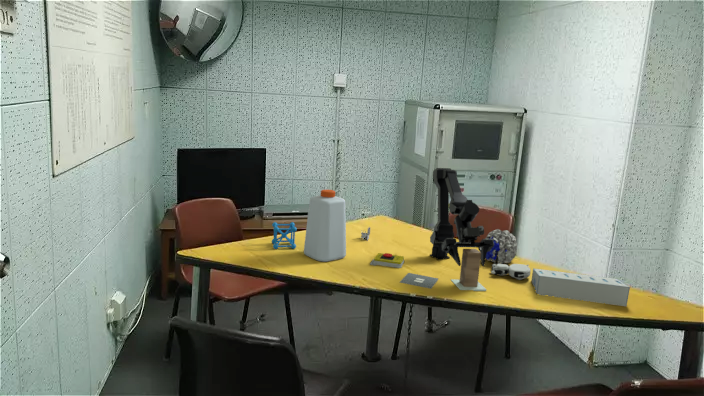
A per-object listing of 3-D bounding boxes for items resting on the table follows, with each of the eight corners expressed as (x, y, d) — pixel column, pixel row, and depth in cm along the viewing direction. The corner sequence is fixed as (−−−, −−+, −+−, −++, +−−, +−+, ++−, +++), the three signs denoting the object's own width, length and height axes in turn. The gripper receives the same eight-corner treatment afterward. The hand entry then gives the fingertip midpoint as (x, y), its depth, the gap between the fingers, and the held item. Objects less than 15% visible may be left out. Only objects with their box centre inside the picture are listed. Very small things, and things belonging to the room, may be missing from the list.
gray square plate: (408, 273, 192) (408, 272, 192) (438, 279, 188) (438, 278, 188) (399, 283, 181) (399, 282, 181) (431, 289, 177) (431, 288, 177)
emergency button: (375, 249, 208) (410, 254, 205) (374, 259, 209) (409, 264, 205) (369, 255, 200) (406, 260, 196) (369, 265, 200) (405, 271, 197)
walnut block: (459, 281, 185) (463, 248, 183) (472, 281, 186) (475, 248, 183) (464, 286, 180) (468, 252, 178) (477, 286, 181) (481, 252, 179)
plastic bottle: (299, 253, 209) (302, 188, 203) (327, 248, 219) (331, 186, 213) (321, 263, 198) (324, 195, 192) (349, 257, 208) (354, 192, 202)
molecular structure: (273, 249, 212) (273, 227, 210) (271, 243, 222) (272, 221, 220) (296, 249, 215) (297, 227, 213) (293, 242, 224) (294, 221, 222)
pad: (450, 280, 187) (450, 279, 187) (475, 281, 189) (475, 279, 189) (460, 290, 178) (460, 289, 177) (486, 291, 179) (486, 289, 179)
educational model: (480, 274, 215) (480, 247, 207) (486, 244, 230) (487, 219, 221) (513, 278, 210) (515, 252, 202) (518, 248, 225) (519, 222, 216)
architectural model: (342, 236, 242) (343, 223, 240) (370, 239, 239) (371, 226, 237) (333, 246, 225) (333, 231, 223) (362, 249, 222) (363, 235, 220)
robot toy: (489, 279, 194) (530, 283, 189) (490, 268, 193) (530, 272, 189) (491, 270, 206) (529, 273, 201) (492, 260, 205) (530, 263, 200)
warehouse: (614, 293, 187) (617, 273, 185) (626, 307, 173) (629, 287, 171) (531, 282, 193) (533, 263, 191) (536, 295, 179) (539, 275, 177)
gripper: (447, 217, 181) (454, 255, 172) (495, 218, 184) (504, 256, 175) (438, 232, 190) (444, 269, 181) (484, 233, 193) (492, 269, 184)
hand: (471, 265), depth 180 cm, fingers open, 9 cm apart
